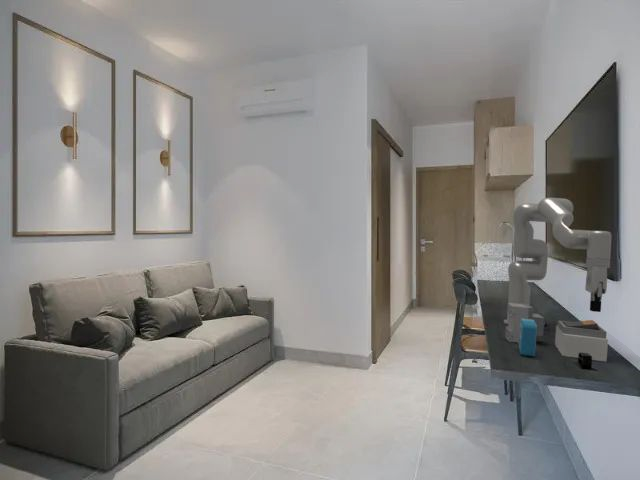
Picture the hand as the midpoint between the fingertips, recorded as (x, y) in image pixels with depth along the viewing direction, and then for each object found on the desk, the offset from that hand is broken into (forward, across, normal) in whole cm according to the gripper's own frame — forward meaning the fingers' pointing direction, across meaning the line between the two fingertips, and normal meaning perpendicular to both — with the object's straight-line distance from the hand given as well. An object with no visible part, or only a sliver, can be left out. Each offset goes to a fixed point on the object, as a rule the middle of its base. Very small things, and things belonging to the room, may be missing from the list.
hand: (595, 311), depth 158 cm
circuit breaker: (+17, -8, -22) cm, 29 cm away
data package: (+17, +10, -24) cm, 31 cm away
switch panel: (+17, -1, -4) cm, 17 cm away
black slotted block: (+18, +16, -6) cm, 25 cm away
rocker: (+7, 0, -4) cm, 8 cm away
